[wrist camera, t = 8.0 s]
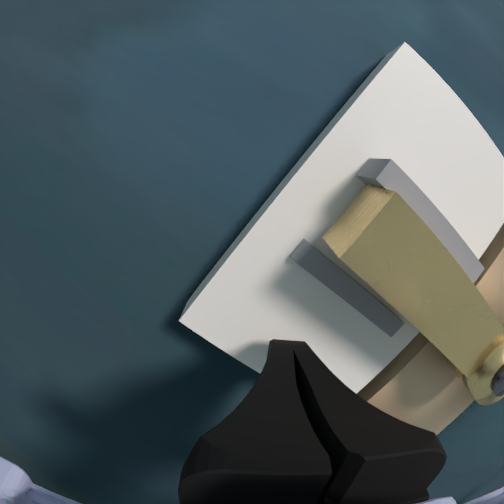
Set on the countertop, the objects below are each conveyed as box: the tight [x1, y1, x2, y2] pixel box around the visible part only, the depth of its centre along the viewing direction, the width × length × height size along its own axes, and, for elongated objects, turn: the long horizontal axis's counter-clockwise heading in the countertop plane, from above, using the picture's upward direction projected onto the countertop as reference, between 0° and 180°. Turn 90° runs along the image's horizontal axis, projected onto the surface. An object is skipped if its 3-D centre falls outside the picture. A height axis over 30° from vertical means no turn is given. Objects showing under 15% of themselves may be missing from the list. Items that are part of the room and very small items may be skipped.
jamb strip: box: [357, 223, 504, 435], centre depth 14 cm, size 12×7×2 cm, turn 142°
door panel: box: [179, 42, 504, 394], centre depth 11 cm, size 14×8×4 cm, turn 142°
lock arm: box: [322, 184, 504, 406], centre depth 10 cm, size 11×3×4 cm, turn 51°
